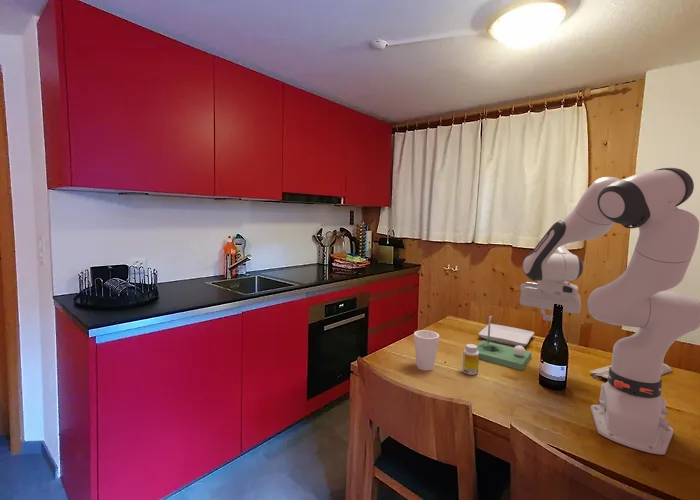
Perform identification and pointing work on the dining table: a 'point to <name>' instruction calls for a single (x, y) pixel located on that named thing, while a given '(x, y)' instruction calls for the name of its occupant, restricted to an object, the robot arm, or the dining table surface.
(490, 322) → the flag pin
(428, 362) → the foam cup
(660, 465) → the dining table surface
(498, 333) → the salad plate
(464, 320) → the dining table surface
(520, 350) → the ball
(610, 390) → the robot arm
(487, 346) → the golf putting green
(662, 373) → the newspaper
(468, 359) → the supplement bottle
